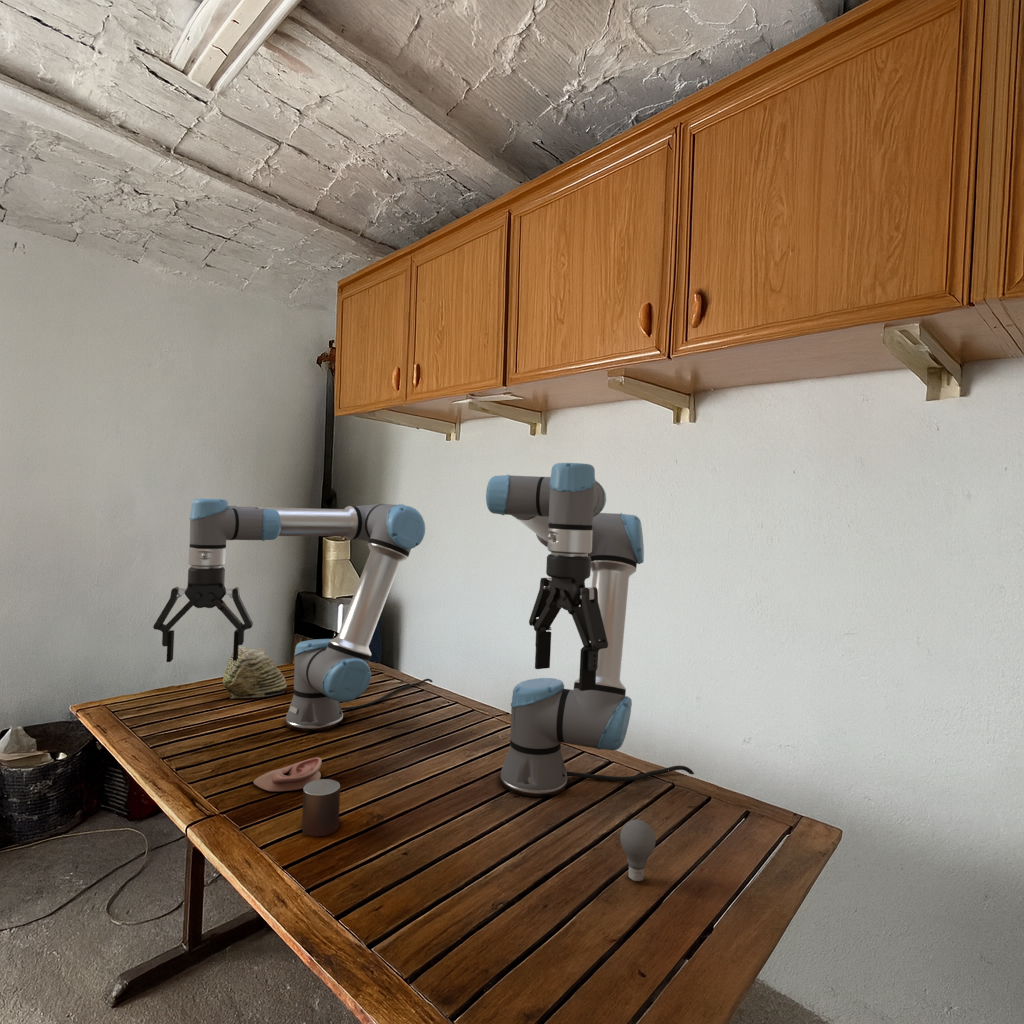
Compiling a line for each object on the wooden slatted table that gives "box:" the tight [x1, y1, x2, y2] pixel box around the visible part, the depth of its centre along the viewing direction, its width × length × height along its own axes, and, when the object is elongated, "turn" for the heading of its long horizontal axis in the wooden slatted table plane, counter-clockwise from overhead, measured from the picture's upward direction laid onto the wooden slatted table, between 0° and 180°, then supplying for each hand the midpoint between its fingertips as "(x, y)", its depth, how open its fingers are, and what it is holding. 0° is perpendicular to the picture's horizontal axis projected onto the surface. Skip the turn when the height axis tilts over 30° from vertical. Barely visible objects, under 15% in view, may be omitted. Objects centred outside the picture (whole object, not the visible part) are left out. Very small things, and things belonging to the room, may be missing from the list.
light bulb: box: [619, 819, 657, 882], centre depth 109 cm, size 6×6×10 cm
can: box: [301, 778, 341, 838], centre depth 121 cm, size 7×7×8 cm
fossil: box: [222, 646, 288, 699], centre depth 198 cm, size 9×18×15 cm, turn 132°
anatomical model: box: [253, 757, 323, 792], centre depth 140 cm, size 13×4×12 cm
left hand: (203, 660), depth 144 cm, fingers open, 13 cm apart
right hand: (563, 678), depth 108 cm, fingers open, 13 cm apart
